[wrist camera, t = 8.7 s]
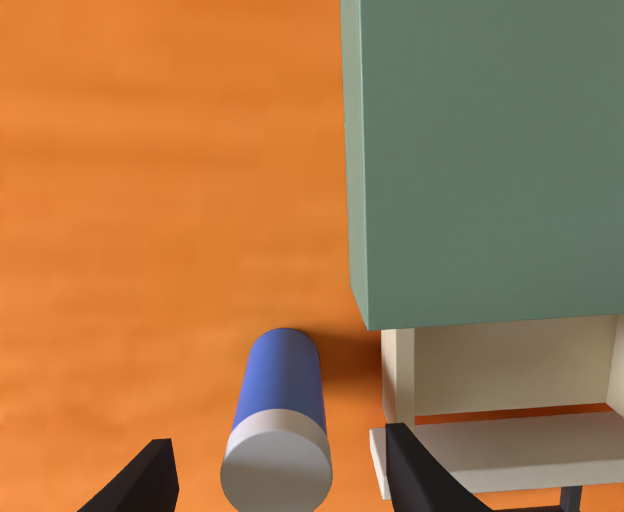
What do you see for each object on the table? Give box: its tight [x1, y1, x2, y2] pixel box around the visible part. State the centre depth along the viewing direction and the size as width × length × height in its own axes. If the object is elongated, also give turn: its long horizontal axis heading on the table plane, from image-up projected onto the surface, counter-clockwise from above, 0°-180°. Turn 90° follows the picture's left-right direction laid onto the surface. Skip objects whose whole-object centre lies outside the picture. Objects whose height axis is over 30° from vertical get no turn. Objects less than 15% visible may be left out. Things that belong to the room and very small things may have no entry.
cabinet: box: [340, 0, 624, 331], centre depth 15 cm, size 14×13×5 cm
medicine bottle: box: [220, 328, 333, 512], centre depth 16 cm, size 4×4×8 cm
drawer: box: [370, 314, 624, 512], centre depth 18 cm, size 18×12×3 cm
